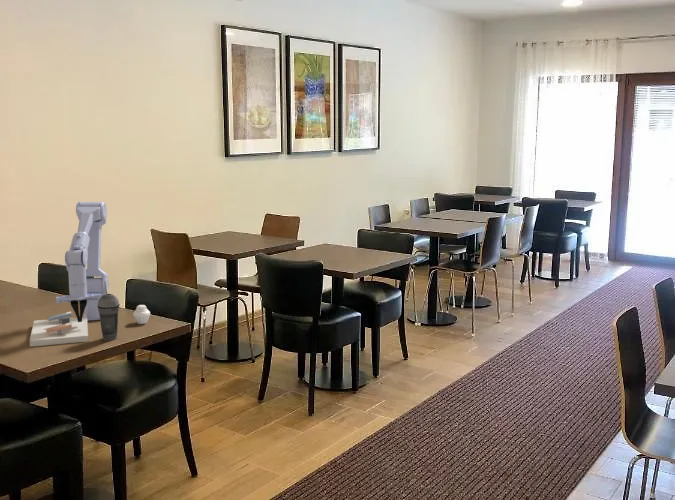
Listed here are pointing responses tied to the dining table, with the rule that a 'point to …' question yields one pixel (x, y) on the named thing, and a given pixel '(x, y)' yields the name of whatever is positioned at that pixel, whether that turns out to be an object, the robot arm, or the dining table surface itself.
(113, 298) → the beverage cup
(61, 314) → the plate
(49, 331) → the pink plate with label
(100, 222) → the robot arm
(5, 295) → the dining table surface
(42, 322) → the switch panel
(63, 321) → the block
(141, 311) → the white rounded jar
